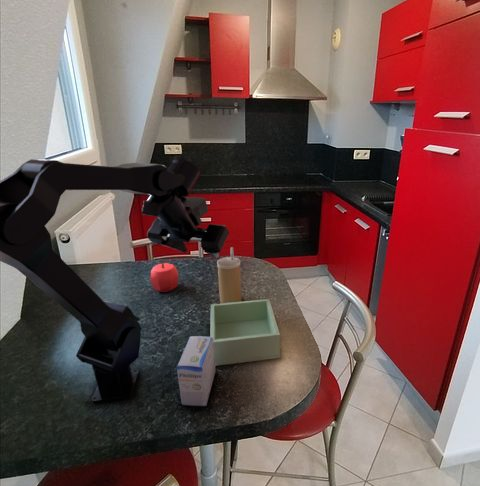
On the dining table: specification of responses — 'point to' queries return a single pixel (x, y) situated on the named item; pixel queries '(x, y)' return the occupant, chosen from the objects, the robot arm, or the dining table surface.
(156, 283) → the apple
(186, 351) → the medicine box
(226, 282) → the straw cup
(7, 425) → the dining table surface
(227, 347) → the bin
